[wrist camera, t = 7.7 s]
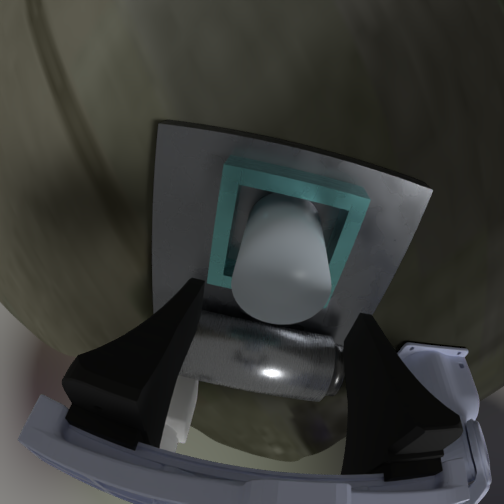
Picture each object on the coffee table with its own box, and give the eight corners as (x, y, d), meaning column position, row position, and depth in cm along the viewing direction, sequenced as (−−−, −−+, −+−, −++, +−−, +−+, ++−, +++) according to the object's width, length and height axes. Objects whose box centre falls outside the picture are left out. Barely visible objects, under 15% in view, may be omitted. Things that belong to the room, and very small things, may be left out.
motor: (424, 182, 18) (472, 231, 13) (333, 363, 29) (336, 423, 23) (167, 119, 18) (112, 144, 12) (159, 328, 29) (135, 384, 23)
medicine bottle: (145, 383, 36) (117, 460, 26) (140, 352, 32) (102, 441, 22) (197, 397, 36) (176, 479, 26) (199, 368, 32) (173, 464, 22)
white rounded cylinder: (331, 204, 19) (347, 262, 13) (306, 264, 21) (310, 332, 16) (258, 182, 19) (244, 233, 13) (240, 246, 21) (222, 311, 16)
